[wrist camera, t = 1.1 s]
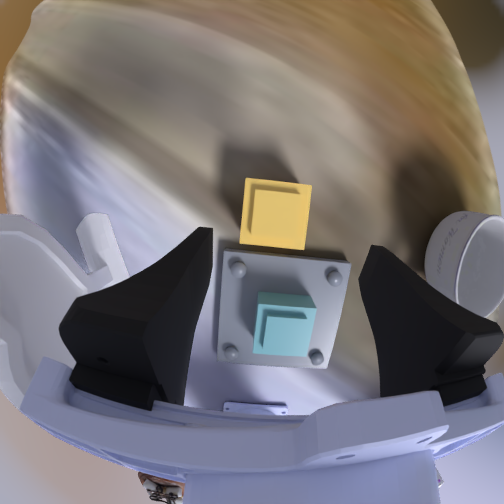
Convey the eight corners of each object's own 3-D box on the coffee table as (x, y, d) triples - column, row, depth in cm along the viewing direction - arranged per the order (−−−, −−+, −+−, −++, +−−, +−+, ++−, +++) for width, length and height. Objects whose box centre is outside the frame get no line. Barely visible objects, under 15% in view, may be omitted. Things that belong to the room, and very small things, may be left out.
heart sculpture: (153, 330, 28) (73, 451, 10) (119, 338, 28) (35, 441, 11) (102, 197, 25) (-43, 216, 7) (70, 214, 25) (-61, 245, 8)
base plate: (324, 362, 28) (333, 388, 24) (218, 355, 28) (212, 381, 24) (347, 260, 26) (364, 274, 21) (225, 248, 26) (218, 260, 21)
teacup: (460, 191, 24) (507, 195, 16) (482, 265, 26) (522, 283, 18) (376, 255, 26) (416, 278, 18) (407, 329, 28) (441, 364, 20)
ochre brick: (295, 239, 26) (305, 251, 20) (242, 234, 26) (238, 244, 20) (301, 186, 24) (313, 185, 19) (247, 180, 24) (245, 177, 19)
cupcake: (138, 432, 32) (118, 478, 23) (197, 443, 32) (186, 495, 22) (151, 463, 34) (137, 503, 25) (204, 472, 34) (196, 516, 24)
